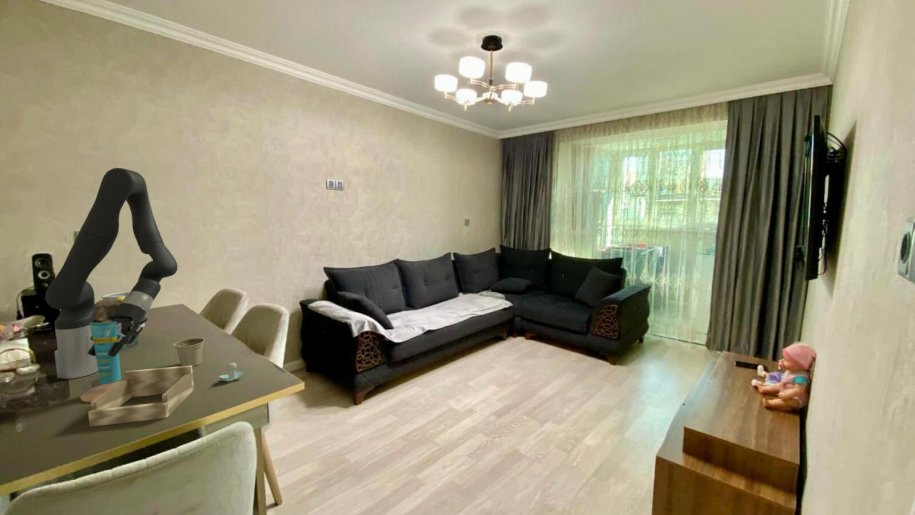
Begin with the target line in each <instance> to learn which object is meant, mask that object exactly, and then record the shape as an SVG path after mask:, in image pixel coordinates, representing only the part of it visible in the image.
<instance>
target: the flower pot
mask: <svg viewBox="0 0 915 515" xmlns="http://www.w3.org/2000/svg"><path fill="white" fill-rule="evenodd" d="M205 341H206V339H205V338H202V337H193V338H187V339H183V340H179V341H177V342H175V343H173V347H175V350H176V352H177V355H178V359H179V363H180V366H191V365H192V366H193V367H195V366H199V365H200V364H201V363H202V360H203V346H204V344H205Z"/></svg>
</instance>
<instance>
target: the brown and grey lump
mask: <svg viewBox="0 0 915 515" xmlns="http://www.w3.org/2000/svg"><path fill="white" fill-rule="evenodd" d="M124 298H125V296H122V297H118V298H115V299H107V300H103V299H101V300H98V301H97V302H95V315H94V318H93V323H107V322H111V321H112V320H113V317H112V315H113V313H114V312H115V310H116V309H117V308H118V306H119V305H120V304H121V302H122V301H123V299H124ZM147 321H148V317H147V316H144V317H143V319H142V320H141V322H140V323H139V324H138V325H142V324H143V323H145V324H146V322H147ZM131 337H132V336H130V337H129V338H128V339H130V338H131ZM138 344H139V335H138V336H137V337H136V338H135V340H134V341H133V342H132V343H131V344H126V345H124V346H122V348H121V350H120V351H119V353H120V352H124V351H127V350H130V349H133V348H135V347H136V346H137V345H138Z"/></svg>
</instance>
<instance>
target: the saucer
mask: <svg viewBox="0 0 915 515" xmlns="http://www.w3.org/2000/svg"><path fill="white" fill-rule="evenodd" d="M121 381H122V380H119V381H117V382H115V383H111V384H105V385H103V384H100V385H98V386H94V387H92V388H89V389H88V390H86V391H84V392H82V393H81V395H80V401H81V402H83V403H91V402H92V401H94V400H95V399H97V398H98V397H100V396H101V395H103V394H104V393H105V392H107V391H108V390H110V389H111V388H113V387H114V386H116V385H117V384H119V383H120V382H121Z"/></svg>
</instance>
